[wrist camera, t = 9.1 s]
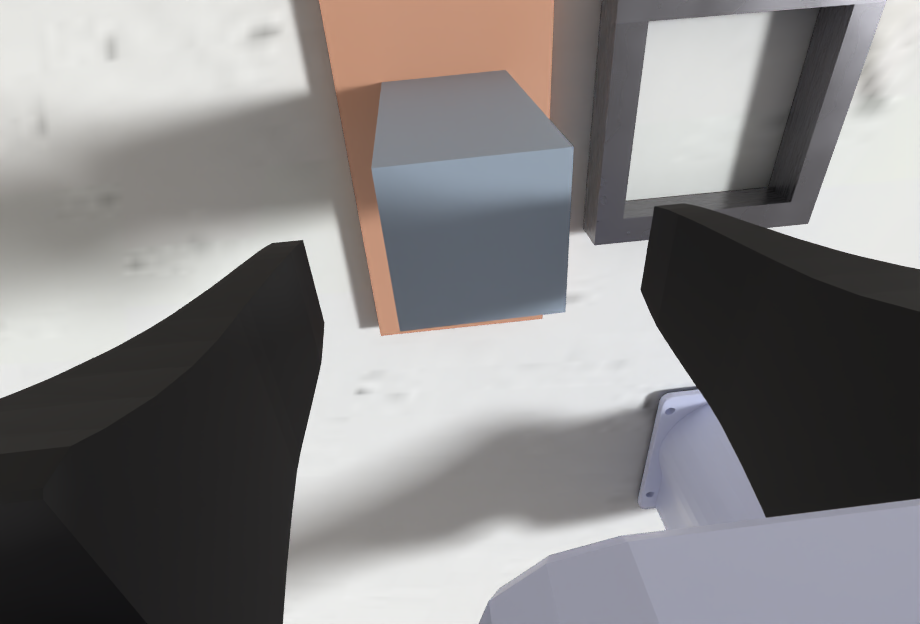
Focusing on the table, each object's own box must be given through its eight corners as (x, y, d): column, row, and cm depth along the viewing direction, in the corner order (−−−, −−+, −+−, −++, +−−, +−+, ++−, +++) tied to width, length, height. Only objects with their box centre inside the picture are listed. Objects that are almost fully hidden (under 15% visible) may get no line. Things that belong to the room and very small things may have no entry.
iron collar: (784, 208, 22) (807, 223, 20) (582, 228, 21) (594, 245, 20) (863, -39, 17) (899, -37, 16) (603, -18, 16) (619, -16, 15)
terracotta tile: (538, 308, 23) (542, 318, 23) (381, 324, 23) (381, 335, 22) (553, -177, 14) (560, -183, 14) (293, -160, 14) (288, -166, 13)
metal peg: (508, 187, 19) (565, 312, 13) (399, 199, 19) (399, 331, 12) (505, 69, 17) (573, 146, 10) (381, 82, 17) (371, 168, 10)
